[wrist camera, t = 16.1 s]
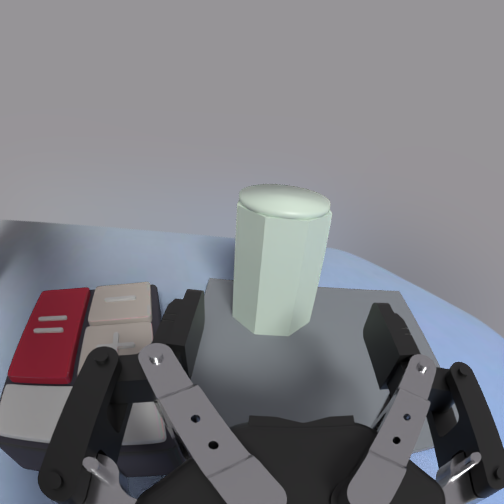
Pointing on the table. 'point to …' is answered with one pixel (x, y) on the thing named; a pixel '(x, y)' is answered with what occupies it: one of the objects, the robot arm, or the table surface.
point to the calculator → (69, 365)
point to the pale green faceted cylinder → (278, 256)
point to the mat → (298, 361)
